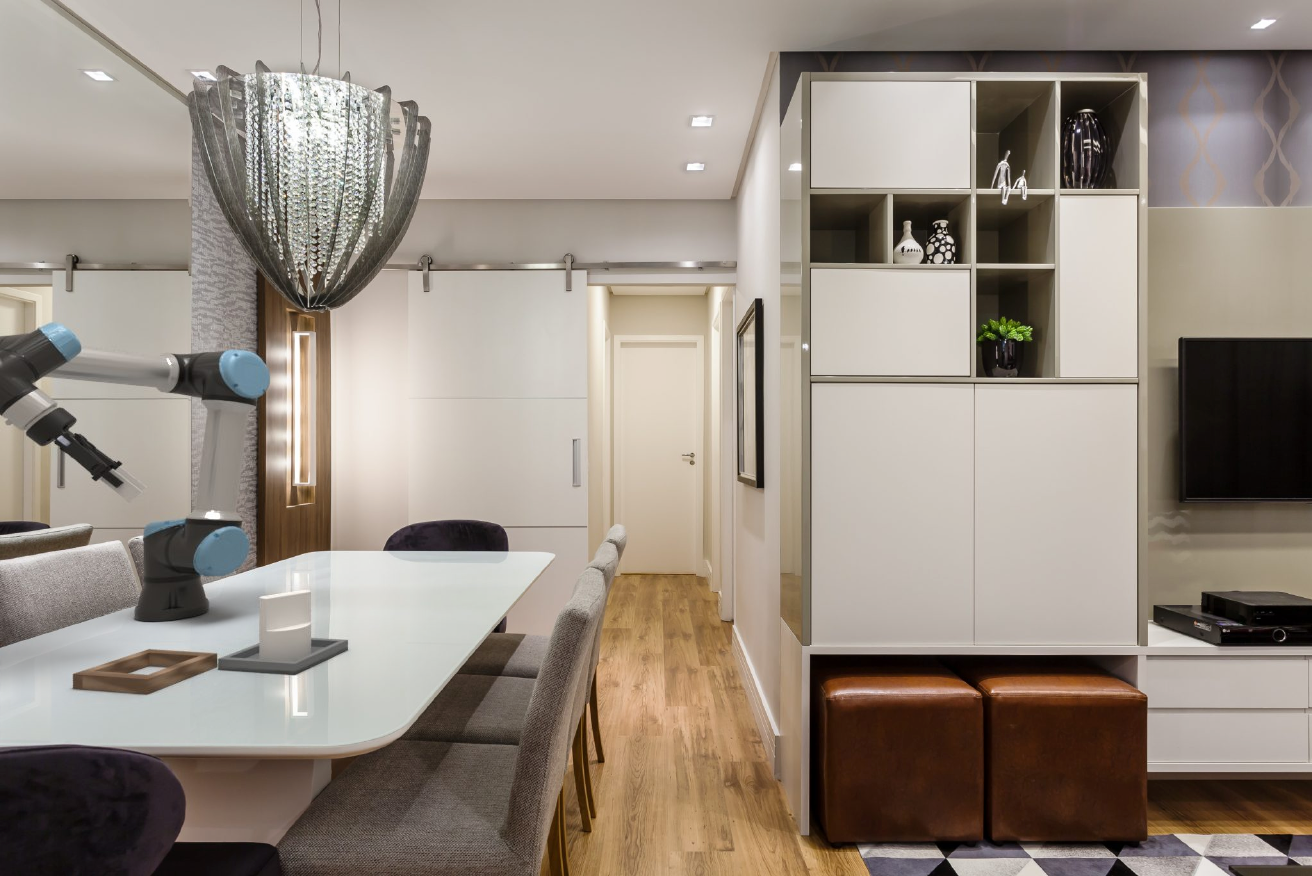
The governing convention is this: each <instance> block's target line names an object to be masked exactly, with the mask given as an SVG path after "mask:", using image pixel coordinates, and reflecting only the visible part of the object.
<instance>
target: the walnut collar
mask: <svg viewBox="0 0 1312 876" xmlns="http://www.w3.org/2000/svg"><path fill="white" fill-rule="evenodd" d="M147 667H158V668H160V667H161V668H163V669H159V670H156V671H154V672H152V673H149V674H145V673H143V674H140V673H132V672H136V671H139V670H141V669H144V668H147ZM216 668H218V653H217V652H200V651H189V650H188V651H184V650H171V649H170V650H168V649H154V648H149V649H145V650H143V651H139V652H136V653H133V654H130V655H127V656H124V657H121V658H118V659H114V660H111V661H108V662H104V663H102V664H98V665H95V666H92V667H90V668H87V669H84V670H81V671H78V672H74V673H73V674H72V689H75V690H88V691H89V690H90V691H101V692H113V693H115V692H116V693H126V694H127V693H128V694H141V695H142V694H143V695H149V694H152V693H154V692H157V691H160V690H162V689H164V688H167V687H169V686H172V685H174V684H177V683H180V682H183V681H184V680H187V679H190V678H193V677H196V676H197V675H200V674H203V673H205V672H208V671H210V670H212V669H216Z"/></svg>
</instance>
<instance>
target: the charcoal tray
mask: <svg viewBox="0 0 1312 876" xmlns="http://www.w3.org/2000/svg"><path fill="white" fill-rule="evenodd" d="M348 650H349V639H343V638H342V639H340V638H339V639H337V638H326V637H325V638H322V637H311V654H309V655H307V656H305V657H302V658H300V659H298V660H296V661H279V660H264V659H259V643H257V644H254V645H253V644H252V645H251V646H248V647H245V648H243V649H240V650H238V651H235V652H233V653H229V654H227V655H225V656H222V657H220V658H217V670H221V671H232V672H248V673H251V672H252V673H262V674H280V675H290V676H291V675H292V676H293V675H294V676H295V675H297V674H299V673H302V672H304V671H306V670H308V669H310V668H312V667H314V666H317V665H318V664H320V663H323V662H325V661H327V660H329V659H332V658H333V657H335V656H337V655H340V654H342V653H345V652H347V651H348Z"/></svg>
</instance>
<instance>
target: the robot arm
mask: <svg viewBox="0 0 1312 876" xmlns="http://www.w3.org/2000/svg"><path fill="white" fill-rule="evenodd" d="M44 377H45V378H52V379H53V378H54V379H55V378H56V379H63V380H65V379H66V380H72V381H73V380H76V381H84V382H96V383H107V384H116V385H128V386H137V387H147V388H156V390H157V391H158V392H160V393H165V394H174V395H181V396H187V397H194V398H198V399H201V401H200V403H201V404H202V405H203V406H204V408H205V409H206V412H207V413H206V420H205V425H204V426H205V428H204V433H203V434H204V435H203V436H204V437H203V442H202V449H201V458H200V463H199V466H200V467H199V472H198V478H197V479H198V480H197V489H196V496H195V503H194V504H195V505H194V509H193V510H192V512H190V513H189V514H188V515H186V516H185V518H181V519H179V518H178V519H172V520H161V521H153V522H148V523H147V524H146V525H145V526H144V528H143V529H144V530H143V536H142V541H143V586H142V589H141V591H140V595H139V598H138V602H137V605H135V607H134V620H136V621H141V622H160V621H161V622H164V621H165V622H166V621H174V620H181V619H188V618H191V617H197V616H200V615H203V614H205V613H208V612H209V611H210V601H209V599H208V598H207V596H206V592H205V588H204V586H203V583H202V578H201V577H202V576H203V577H208V578H209V577H224V576H227V575H230V574H233V573H234V572H236V571H237V570H238V569H239V568H240V567H242V565H244V564H245V561H246V560H247V559H248V556H249V553H250V549H251V543H250V538H249V536H247V533H246V531H244V530H243V529H242V528H243V527H242V526H243V518H242V517H241V516H240V515H239V514H238V512H237V511H238V510H237V508H238V502H239V501H238V499H239V492H240V483H241V476H242V467H243V459H244V452H245V451H244V450H245V442H246V435H247V434H246V433H247V427H248V418H249V415H250V414H251V413H252V412H254V411H255V410H256V409H257V403H258V398H259V397H262V396H263V395H264V394H265V393H266V392H267V391H268V388H269V387H270V383H271V375H270V371H269V368H268V366H267V364H266V363H265V362H264V361H263V359H262V357H260V356H259V355H257V354H256V353H254V352H252V351H249V350H241V349H229V350H220V351H219V350H218V351H205V352H204V351H203V352H197V353H193V352H192V353H170V352H163V353H161V354H159V355H153V354H146V353H138V352H129V351H124V350H123V351H121V350H115V349H107V348H102V347H101V348H100V347H93V346H92V347H91V346H84V345H82V343H81V341H80V340H79V338H78V337H77V336H76V334H75V333H74V331H72V330H70V329H69V328H67V326H65V325H64V324H63V325H62V324H61V323H57V322H49V323H47V324H45V325H42V326H39V327H37V328H36V329H35V330H33V331H32V332H30V333H20V334H19V333H17V334H11V335H10V334H9V335H0V416H1V417H2V418H3V419H6V420H5V422H4V423H5V425H6V426H11V425H13V426H14V427H15V428H17V429H18V430H19V431H26V432H25V436H27V437H28V438H29V439H31V440H32V441H33V442H35V443H36V444H37V445H38V446H40V447H46V446H48V445H50V444H51V443H54V445H56V446H58V447H59V450H61V451H62V452H63V453H65V454H66V455H68V456H69V457H70V458H72V459H73V460H75V462H77V463H78V464H79V465H81V466H82V467H83V468H84V469H85V470H86V471H87V472H88V473H90V475H91V476H92V477H91V479H92V480H93V481H94V482H97V481H98V480H99V481H101V482H103V483H104V484H106V486H108V487H109V488H110V489H112V491H114V492H116V494H118V495H119V496H121V497H122V498H123V499H124V500H125V501H128V503H131V502H132V501H133V500H135V499H136V498H138V497H139V496H140V495H141V494H142V493H143V492H144V491H145V490H147V489H148V486H146V485H145V484H144V483H143V482H141V481H139V480H138V479H137V478H135V477H134V476H133V475H132V474H130V473H129V472H128V471H127V470H126V469H124V468H123V467H121V466H123V462H121V461H120V460H117V461H116V460H113V459H112V458H110V456H108V455H106V453H103V452H102V451H101V450H99V449H98V448H97V446H95V445H94V444H93V443H91V442H90V441H89V440H88V439H87V438H86V437H85V436H84V435H83V434H81V433H77V432H75V433H73V432H72V431H70V429H71V428H72V427H73V426H74V425H75V424H76V423H77V421H78V420H77V418H76V417H75V416H74V415H73V414H71V413H70V412H69V411H67V410H66V409H65V408H63V407H58V402H57V401H55V400H54V399H53V398H52V397H51V396H50V395H48V394H47V393H45V392H44V391H43V390H41V388H39V387H38V386H36V385H35V384H34V383H36V382H37V381H39V380H41V379H42V378H44Z"/></svg>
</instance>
